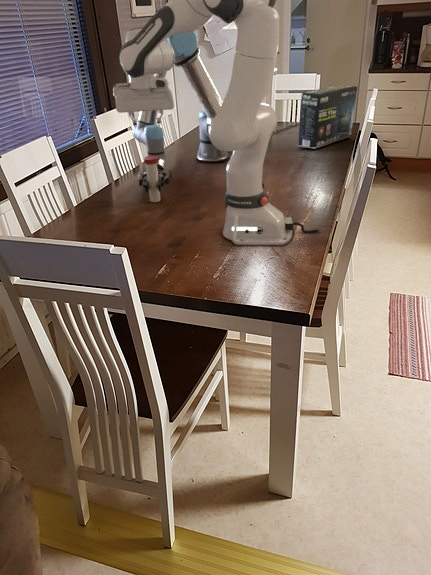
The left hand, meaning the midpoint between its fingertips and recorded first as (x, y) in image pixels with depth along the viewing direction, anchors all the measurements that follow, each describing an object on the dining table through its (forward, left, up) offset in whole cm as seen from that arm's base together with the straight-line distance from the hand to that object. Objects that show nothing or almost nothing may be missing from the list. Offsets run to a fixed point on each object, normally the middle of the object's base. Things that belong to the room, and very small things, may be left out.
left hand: (152, 188), depth 171 cm
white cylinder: (-5, -2, -7) cm, 9 cm away
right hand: (-5, -2, +22) cm, 23 cm away
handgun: (-38, +26, -7) cm, 46 cm away
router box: (-108, +45, -7) cm, 117 cm away
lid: (-5, -2, +10) cm, 11 cm away
